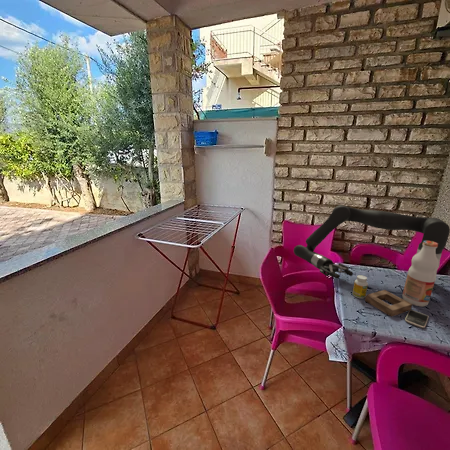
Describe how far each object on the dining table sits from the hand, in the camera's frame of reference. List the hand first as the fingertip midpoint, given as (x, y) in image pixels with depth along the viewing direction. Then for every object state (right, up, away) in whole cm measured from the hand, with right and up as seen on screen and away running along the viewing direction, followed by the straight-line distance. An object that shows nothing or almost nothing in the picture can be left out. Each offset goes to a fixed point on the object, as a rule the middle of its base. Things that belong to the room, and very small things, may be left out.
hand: (345, 275), depth 118 cm
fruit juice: (+26, -9, -10) cm, 29 cm away
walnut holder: (+11, -10, -13) cm, 20 cm away
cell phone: (+17, -13, -22) cm, 31 cm away
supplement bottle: (+3, -8, -6) cm, 11 cm away
